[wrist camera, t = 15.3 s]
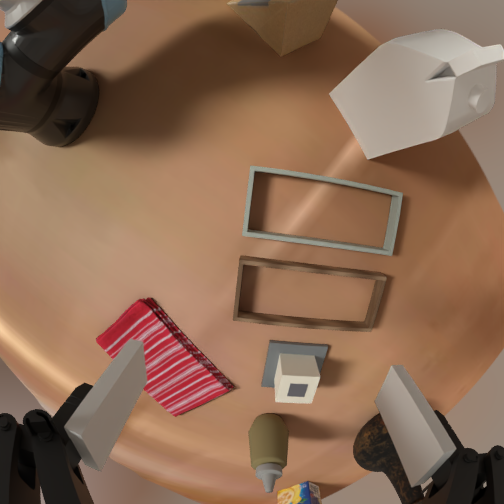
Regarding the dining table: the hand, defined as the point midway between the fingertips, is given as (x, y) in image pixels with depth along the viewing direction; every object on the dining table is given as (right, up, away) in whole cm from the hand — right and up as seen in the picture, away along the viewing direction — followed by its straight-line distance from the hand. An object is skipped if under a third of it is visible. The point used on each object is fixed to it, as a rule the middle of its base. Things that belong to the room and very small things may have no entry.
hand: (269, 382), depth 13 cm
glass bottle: (+30, -34, +37) cm, 59 cm away
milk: (+19, +28, +22) cm, 41 cm away
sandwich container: (+2, +44, +19) cm, 48 cm away
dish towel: (-18, -14, +34) cm, 41 cm away
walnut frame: (+8, 0, +29) cm, 30 cm away
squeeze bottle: (+3, -29, +37) cm, 47 cm away
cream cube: (+6, -14, +32) cm, 35 cm away
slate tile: (+6, -13, +33) cm, 36 cm away
